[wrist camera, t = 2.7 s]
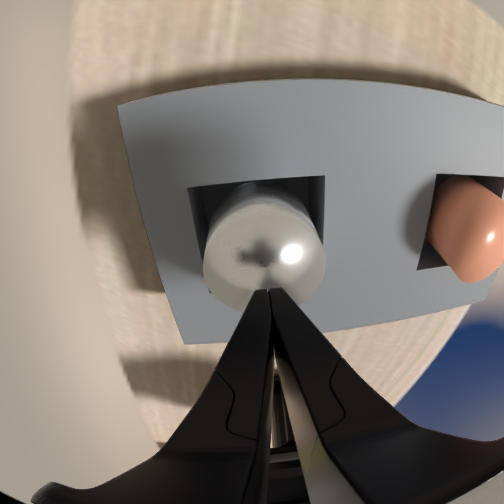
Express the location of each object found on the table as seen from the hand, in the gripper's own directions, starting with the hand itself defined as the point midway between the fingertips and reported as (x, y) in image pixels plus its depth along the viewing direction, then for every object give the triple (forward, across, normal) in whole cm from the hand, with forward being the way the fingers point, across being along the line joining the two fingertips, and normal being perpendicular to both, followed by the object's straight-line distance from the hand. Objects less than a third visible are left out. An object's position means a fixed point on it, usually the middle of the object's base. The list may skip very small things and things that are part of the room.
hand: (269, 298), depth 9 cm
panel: (+7, -5, 0) cm, 9 cm away
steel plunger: (+4, 0, 0) cm, 4 cm away
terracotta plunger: (+4, -10, 0) cm, 11 cm away
